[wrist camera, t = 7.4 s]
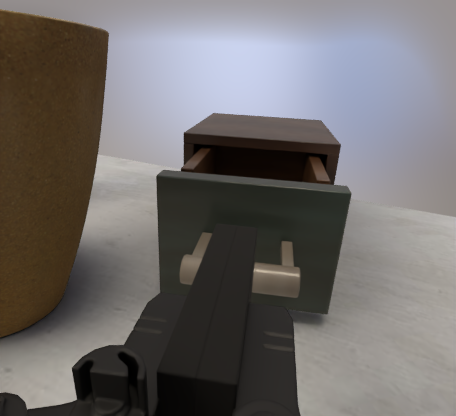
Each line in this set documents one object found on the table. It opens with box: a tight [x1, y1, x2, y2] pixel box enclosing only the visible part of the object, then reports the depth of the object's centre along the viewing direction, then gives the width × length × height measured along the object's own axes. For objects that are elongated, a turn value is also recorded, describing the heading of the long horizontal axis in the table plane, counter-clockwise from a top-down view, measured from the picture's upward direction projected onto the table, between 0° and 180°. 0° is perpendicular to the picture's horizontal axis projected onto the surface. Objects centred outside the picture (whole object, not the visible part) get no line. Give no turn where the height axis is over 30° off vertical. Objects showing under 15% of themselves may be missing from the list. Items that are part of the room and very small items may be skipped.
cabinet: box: [184, 113, 341, 185], centre depth 33 cm, size 13×12×10 cm
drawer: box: [156, 145, 351, 314], centre depth 23 cm, size 16×10×8 cm, turn 172°
